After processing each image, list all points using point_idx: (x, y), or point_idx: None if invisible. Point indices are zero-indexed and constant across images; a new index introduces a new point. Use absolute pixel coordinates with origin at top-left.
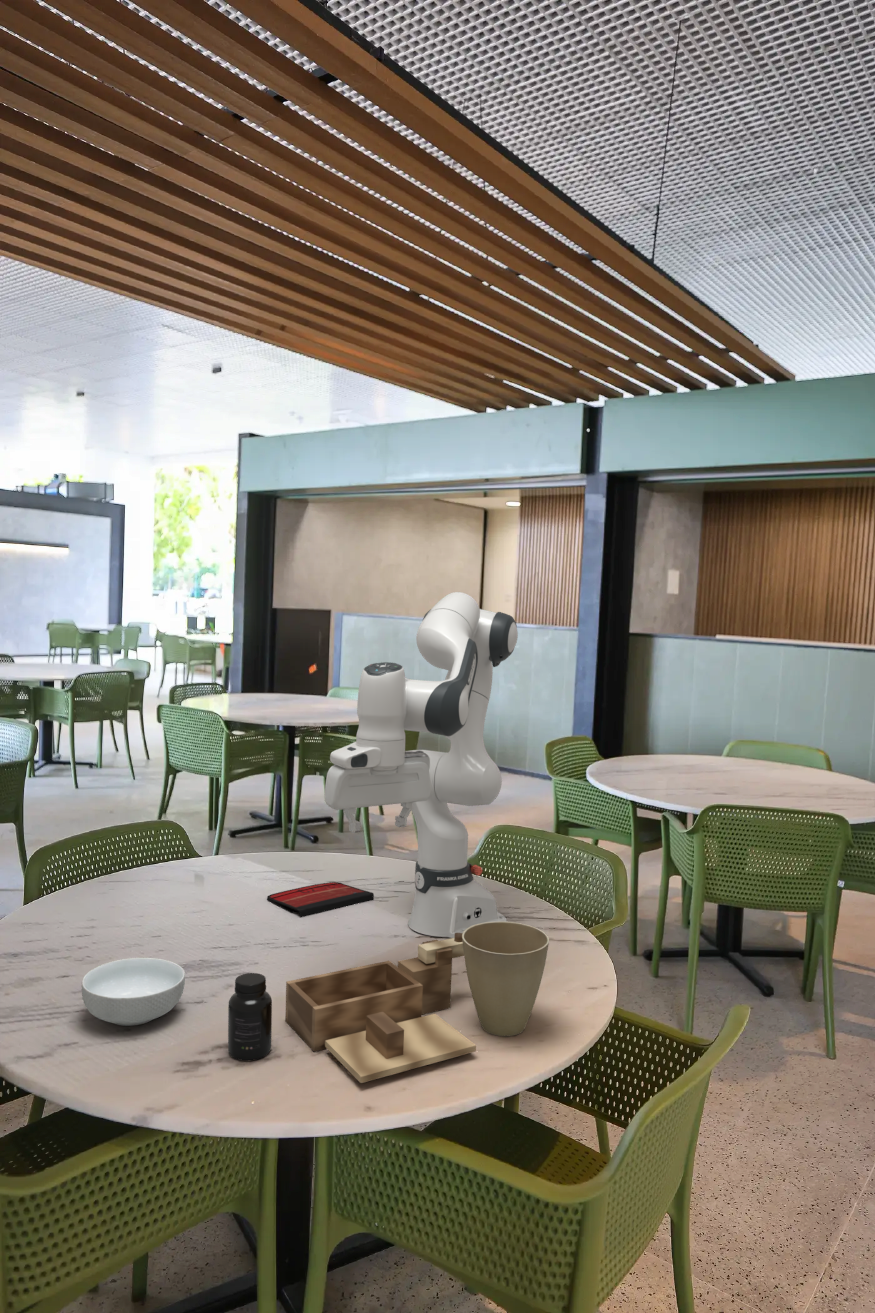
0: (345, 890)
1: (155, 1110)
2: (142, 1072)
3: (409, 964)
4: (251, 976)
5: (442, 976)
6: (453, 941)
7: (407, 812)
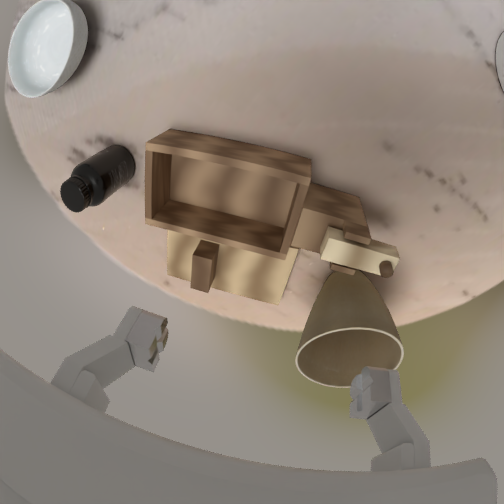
0: None
1: (55, 197)
2: (52, 146)
3: (306, 226)
4: (73, 192)
5: None
6: (377, 263)
7: (378, 441)
